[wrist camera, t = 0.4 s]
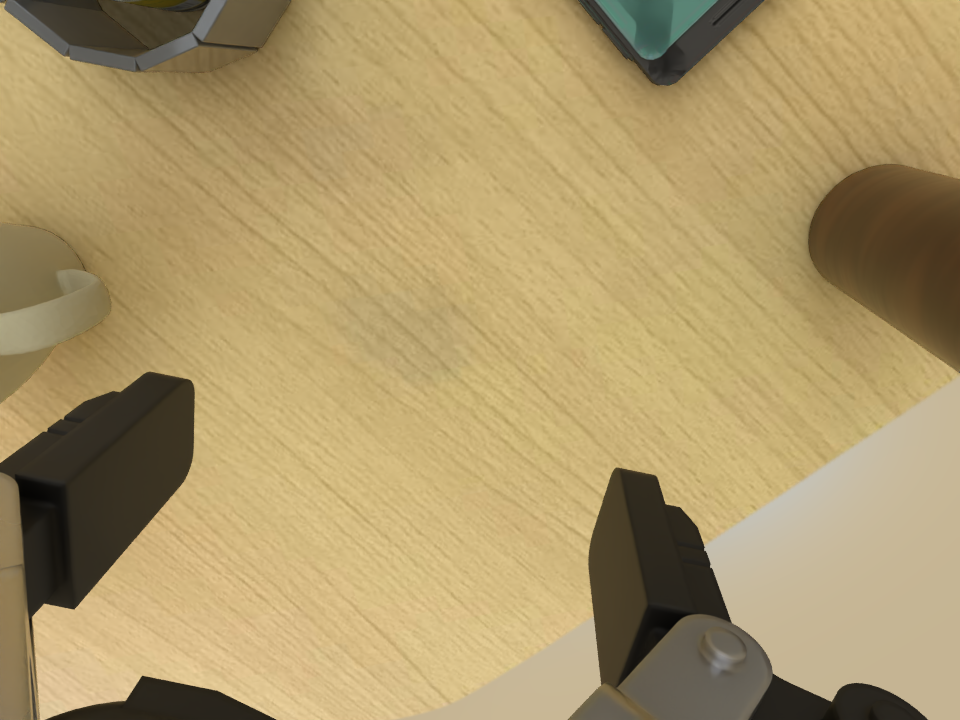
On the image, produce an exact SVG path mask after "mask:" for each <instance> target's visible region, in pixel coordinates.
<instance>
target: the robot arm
mask: <svg viewBox="0 0 960 720" xmlns="http://www.w3.org/2000/svg"><path fill="white" fill-rule="evenodd" d="M194 399H195V392H194V385H193V383H192V381H191V380H189V379H184V378H179V377H174V376H169V375H164V374H159V373H154V372H147V373H145V374H143V375H142V376H141V377H140V378H138V379H137V380H136V381H134V382H133V383H132V384H131V385H129V386H128V387H127V388H125V389H124V390H123V391H121V392H115V391H112V392H109V393H107V394H104V395H101V396H99V397H96V398H93V399H90V400H88V401H85V402H83V403H82V404H81V405H79V406H78V407H77V408H75V409H74V410H72V411H71V412H70V413H68V414H67V415H66V416H65V417H64V420H62V419H60V420H59V421H57V422H56V423H55V424H53V425H52V426H51V427H49V428H48V431H47V432H42V433H41V434H40V435H38V436H37V437H35V438H34V439H33V440H31V441H30V442H29V443H27V444H26V445H25V446H23V447H22V448H20V449H19V450H18V451H16V452H15V453H14V454H12V455H11V456H9V457H8V458H7V459H5V460H4V461H3V462H1V463H0V720H40V712H39V699H38V685H37V671H36V657H35V643H34V629H33V620H32V616H33V615H34V614H35V613H36V612H37V611H38V610H39V609H40V607H41V606H42V605H43V604H49V605H54V606H59V607H64V608H69V609H75V608H76V607H77V606H78V605H79V603H80V602H81V601H82V600H83V599H84V598H85V596H86V595H87V594H88V593H89V592H90V591H91V589H92V588H93V587H94V586H95V585H96V584H97V582H98V581H99V580H100V579H101V578H102V577H103V576H104V574H105V573H106V572H107V571H108V570H109V569H110V567H111V566H112V565H113V564H114V563H115V562H116V560H117V559H118V558H119V557H120V556H121V555H122V553H123V552H124V551H125V550H126V549H127V548H128V546H129V545H130V544H131V543H132V542H133V541H134V539H135V538H136V537H137V536H138V535H139V534H140V532H141V531H142V530H143V529H144V528H145V527H146V525H147V524H148V523H149V522H150V521H151V520H152V518H153V517H154V516H155V515H156V514H157V513H158V511H159V510H160V509H161V508H162V507H163V506H164V504H165V503H166V502H167V501H168V500H169V499H170V497H171V496H172V495H173V494H174V493H175V492H176V490H177V489H178V488H179V487H180V486H181V484H182V483H183V482H184V480H185V478H186V476H187V474H188V472H189V469H190V466H191V463H192V458H193V450H194ZM704 548H705V547H704V544H703V541H702V539H701V536H700V533H699V530H698V527H697V526H696V525H695V524H694V523H693V522H692V520H691V519H690V518H689V517H688V516H687V515H686V514H685V512H684V511H683V510H682V509H681V508H680V507H676V506H671V505H666V504H665V501H664V498H663V495H662V492H661V488H660V485H659V482H658V479H657V477H656V476H655V475H651V474H646V473H641V472H636V471H632V470H627V469H622V468H615V469H614V471H613V473H612V475H611V478H610V480H609V484H608V487H607V490H606V493H605V496H604V499H603V503H602V506H601V509H600V512H599V515H598V518H597V522H596V525H595V528H594V531H593V534H592V538H591V543H590V550H589V576H590V585H591V594H592V603H593V613H594V621H595V631H596V639H597V649H598V658H599V667H600V677H601V686H600V687H599V688H598V689H597V690H596V691H595V692H594V693H593V694H592V695H591V696H590V697H589V698H588V699H587V700H586V701H585V702H584V703H583V704H582V705H581V706H580V708H578V710H576V712H575V713H574V714H573V715H572V716H571V717H570V718H569V719H568V720H927V718H926V717H925V716H923V715H922V714H921V713H920V712H919V711H918V710H917V709H915V708H914V707H913V706H911V705H910V704H909V703H907V702H906V701H904V700H903V699H901V698H899V697H898V696H896V695H894V694H892V693H890V692H888V691H886V690H884V689H881V688H879V687H875V686H872V685H868V684H862V683H852V684H847V685H845V686H843V687H842V688H841V689H839V690H838V692H837V694H836V696H835V698H834V699H833V701H832V702H831V701H828V700H826V699H824V698H822V697H820V696H817V695H815V694H813V693H811V692H809V691H806V690H804V689H802V688H800V687H797V686H795V685H793V684H791V683H789V682H787V681H784V680H783V679H781V678H779V677H777V676H776V675H774V674H773V672H772V666H771V663H770V660H769V658H768V656H767V654H766V653H765V652H764V650H763V649H762V647H761V646H760V645H759V644H758V643H757V642H756V640H755V639H753V638H752V637H751V636H750V635H749V634H748V633H746V632H745V631H744V630H742V629H741V628H739V627H738V626H736V625H734V624H732V622H731V620H730V617H729V614H728V611H727V609H726V606H725V603H724V601H723V597H722V594H721V592H720V589H719V586H718V583H717V580H716V578H715V575H714V572H713V569H712V568H710V561H709V558H708V555H707V553H706V551H704ZM46 720H276V719H274V718H272V717H270V716H268V715H266V714H264V713H262V712H260V711H258V710H256V709H253V708H251V707H249V706H247V705H245V704H243V703H241V702H239V701H237V700H235V699H233V698H231V697H229V696H227V695H225V694H223V693H221V692H219V691H215V690H210V689H205V688H200V687H195V686H190V685H185V684H180V683H176V682H171V681H166V680H161V679H156V678H151V677H146V676H142V677H141V679H140V680H139V682H138V683H137V685H136V686H135V688H134V689H133V691H132V692H131V694H130V695H129V697H128V698H127V700H126V701H119V702H110V703H103V704H96V705H92V706H87V707H83V708H79V709H75V710H72V711H68V712H65V713H62V714H59V715H56V716H53V717H51V718H48V719H46Z"/></svg>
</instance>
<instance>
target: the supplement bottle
mask: <svg viewBox="0 0 960 720" xmlns="http://www.w3.org/2000/svg"><path fill="white" fill-rule="evenodd" d="M113 1H119V2H125V3H130V4H136V5H141V6H147V7H152V8H157V9H162V10H168V11H175V12H190V11H196V10H200V9H203V8H206V6H207V5H208V3H209V1H210V0H113Z"/></svg>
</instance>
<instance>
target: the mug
mask: <svg viewBox="0 0 960 720" xmlns="http://www.w3.org/2000/svg"><path fill="white" fill-rule="evenodd" d="M110 311H111V299H110V295H109V293H108V290H107V288H106V286H105V284H104V282H103V281H102V280H101V279H100V278H99V277H98V276H96V275H94V274H92V273H89V272H86V271H85V270H84V268H83V265H82V263H81V261H80V260H79V258H78V256H77V255H76V254H75V252H74V251H73V250H72V249H71V247H70V246H69V245H67V244H66V243H65V242H64V241H63V240H62V239H60V238H59V237H57V236H56V235H54V234H52V233H50V232H48V231H46V230H43V229H40V228H36V227H31V226H24V225H16V224H8V223H1V222H0V403H2V402H3V401H4V400H6V399H7V398H8V397H9V396H11V395H12V394H13V393H14V392H15V391H17V390H18V389H19V388H20V387H21V386H22V385H23V384H24V383H25V382H26V381H27V380H28V379H29V378H30V377H31V376H32V375H33V374H34V373H35V372H36V371H37V370H38V369H39V367H40V366H41V365H42V364H43V362H44V361H45V360H46V359H47V357H48V356H49V355H50V353H51V352H52V350H53V349H54V347H55V346H56V345H57V344H59V343H62V342H64V341H67V340H69V339H72V338H74V337H75V336H77V335H79V334H81V333H83V332H85V331H87V330H89V329H90V328H92V327H93V326H95V325H97V324H98V323H100V322H101V321H102V320H103V319H105V318H106V317H107V316H108V315H109V313H110Z"/></svg>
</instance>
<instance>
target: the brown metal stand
mask: <svg viewBox="0 0 960 720" xmlns="http://www.w3.org/2000/svg"><path fill="white" fill-rule="evenodd" d="M809 250H810V255H811V258H812V261H813V263H814V265H815V267H816V269H817V270H818V272H819V273H820V274H821V275H822V276H823V277H824V278H825V279H826V280H827V281H828V282H830V283H831V284H832V285H834V286H835V287H837V288H838V289H840V290H841V291H843V292H844V293H845V294H847V295H848V296H850V297H851V298H853V299H854V300H855V301H857V302H858V303H860V304H861V305H863V306H864V307H865V308H867V309H868V310H870V311H871V312H873V313H874V314H876V315H877V316H878V317H880V318H881V319H883V320H884V321H886V322H887V323H888V324H890V325H891V326H893V327H894V328H896V329H897V330H899V331H900V332H901V333H903V334H904V335H906V336H907V337H909V338H910V339H911V340H913V341H914V342H916V343H917V344H919V345H920V346H922V347H923V348H924V349H926V350H927V351H929V352H930V353H932V354H933V355H934V356H936V357H937V358H939V359H940V360H942V361H943V362H945V363H946V364H947V365H949V366H950V367H952V368H953V369H955V370H956V371H957V372H959V373H960V179H957V178H953V177H949V176H945V175H941V174H936V173H932V172H928V171H924V170H920V169H916V168H912V167H907V166H903V165H895V164H885V165H878V166H873V167H869V168H866V169H863V170H861V171H858V172H856V173H854V174H853V175H851V176H849V177H847V178H846V179H844V180H843V181H841V182H840V183H839V184H838V185H837V186H835V187H834V188H833V189H832V190H831V191H830V192H829V193H828V194H827V196H826V197H825V198H824V200H823V201H822V202H821V204H820V205H819V207H818V209H817V211H816V213H815V215H814V217H813V220H812V223H811V227H810V232H809Z"/></svg>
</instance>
